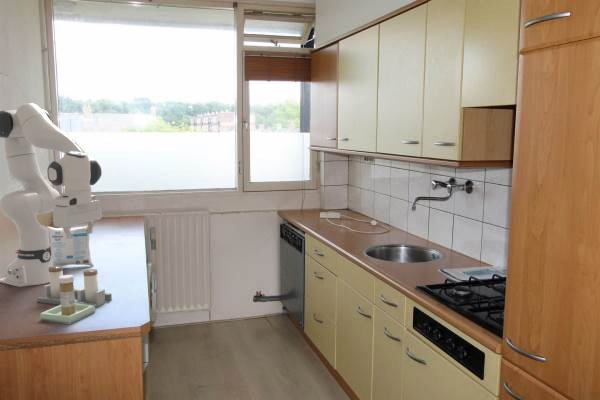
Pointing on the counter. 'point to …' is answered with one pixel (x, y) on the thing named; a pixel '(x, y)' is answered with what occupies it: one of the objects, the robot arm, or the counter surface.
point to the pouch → (70, 247)
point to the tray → (56, 316)
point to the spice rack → (99, 296)
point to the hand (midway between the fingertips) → (79, 236)
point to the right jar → (90, 285)
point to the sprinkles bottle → (67, 295)
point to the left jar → (55, 280)
